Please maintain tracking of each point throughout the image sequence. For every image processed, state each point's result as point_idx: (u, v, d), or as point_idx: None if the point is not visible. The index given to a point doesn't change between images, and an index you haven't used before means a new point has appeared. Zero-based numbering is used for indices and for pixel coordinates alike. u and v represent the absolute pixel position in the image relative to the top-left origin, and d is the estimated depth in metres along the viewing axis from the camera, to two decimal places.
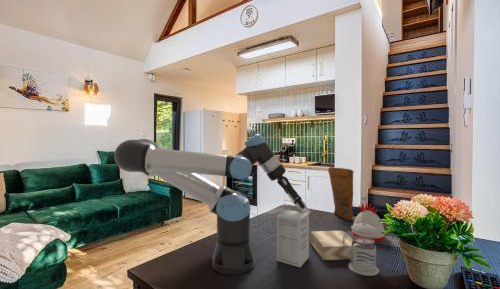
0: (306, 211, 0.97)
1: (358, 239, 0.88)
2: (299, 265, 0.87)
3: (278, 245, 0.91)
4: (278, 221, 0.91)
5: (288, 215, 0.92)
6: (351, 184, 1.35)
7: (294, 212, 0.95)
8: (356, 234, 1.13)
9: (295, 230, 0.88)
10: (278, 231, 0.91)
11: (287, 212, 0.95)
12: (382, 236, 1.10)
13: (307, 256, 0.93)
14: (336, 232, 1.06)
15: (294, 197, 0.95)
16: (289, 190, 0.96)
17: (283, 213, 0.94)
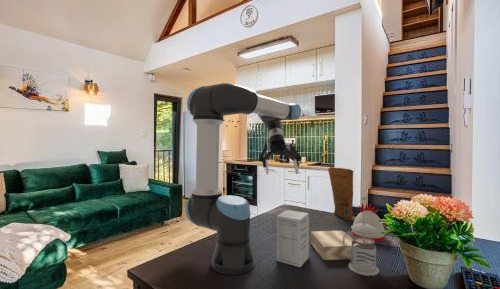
0: None
1: (358, 239, 0.88)
2: (299, 265, 0.87)
3: (278, 245, 0.91)
4: (278, 221, 0.91)
5: (288, 215, 0.92)
6: (351, 184, 1.35)
7: (294, 212, 0.95)
8: (356, 234, 1.13)
9: (295, 230, 0.88)
10: (278, 231, 0.91)
11: (287, 212, 0.95)
12: (382, 236, 1.10)
13: (307, 256, 0.93)
14: (336, 232, 1.06)
15: None
16: None
17: (283, 213, 0.94)
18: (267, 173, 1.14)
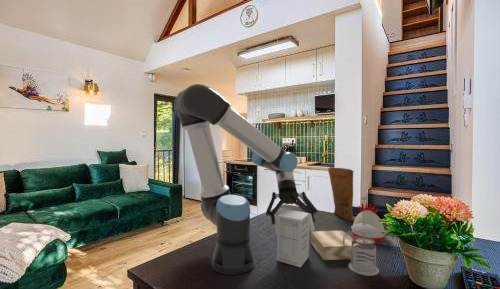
0: None
1: (358, 239, 0.88)
2: (299, 265, 0.87)
3: (278, 245, 0.91)
4: (279, 221, 0.90)
5: (289, 214, 0.91)
6: (351, 184, 1.35)
7: (295, 212, 0.94)
8: (356, 234, 1.13)
9: (296, 230, 0.87)
10: (279, 231, 0.91)
11: (287, 212, 0.95)
12: (382, 236, 1.10)
13: (307, 256, 0.93)
14: (336, 232, 1.06)
15: None
16: None
17: (284, 213, 0.93)
18: (276, 232, 0.94)
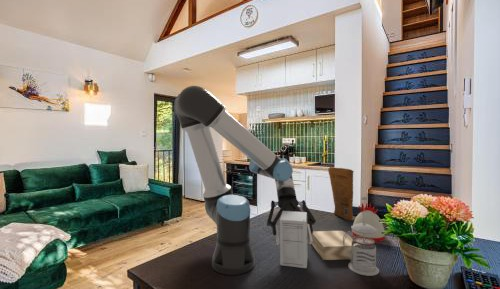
0: None
1: (358, 239, 0.88)
2: (305, 266, 0.86)
3: (282, 249, 0.88)
4: (282, 225, 0.87)
5: (290, 217, 0.89)
6: (351, 184, 1.35)
7: (293, 213, 0.93)
8: (356, 234, 1.13)
9: (300, 232, 0.86)
10: (282, 235, 0.87)
11: (286, 213, 0.92)
12: (382, 236, 1.10)
13: None
14: (336, 232, 1.06)
15: None
16: None
17: (283, 215, 0.90)
18: (278, 244, 0.90)
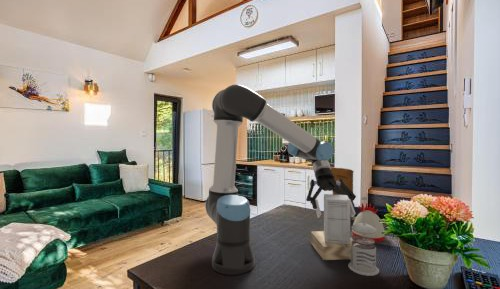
0: None
1: (358, 239, 0.88)
2: (349, 242, 0.94)
3: (327, 227, 0.96)
4: (327, 204, 0.95)
5: (334, 197, 0.97)
6: (351, 184, 1.35)
7: (335, 195, 1.01)
8: (356, 234, 1.13)
9: (345, 210, 0.94)
10: (327, 213, 0.96)
11: (328, 195, 1.01)
12: (382, 236, 1.10)
13: None
14: None
15: None
16: None
17: (327, 196, 0.99)
18: (319, 216, 0.98)
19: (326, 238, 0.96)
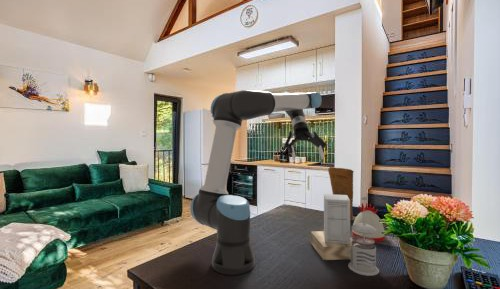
0: None
1: (358, 239, 0.88)
2: (349, 242, 0.94)
3: (327, 227, 0.96)
4: (327, 204, 0.95)
5: (334, 197, 0.97)
6: (351, 184, 1.35)
7: (335, 195, 1.01)
8: (356, 234, 1.13)
9: (345, 210, 0.94)
10: (327, 213, 0.96)
11: (328, 195, 1.01)
12: (382, 236, 1.10)
13: None
14: None
15: None
16: None
17: (327, 196, 0.99)
18: (294, 158, 1.17)
19: (326, 238, 0.96)
